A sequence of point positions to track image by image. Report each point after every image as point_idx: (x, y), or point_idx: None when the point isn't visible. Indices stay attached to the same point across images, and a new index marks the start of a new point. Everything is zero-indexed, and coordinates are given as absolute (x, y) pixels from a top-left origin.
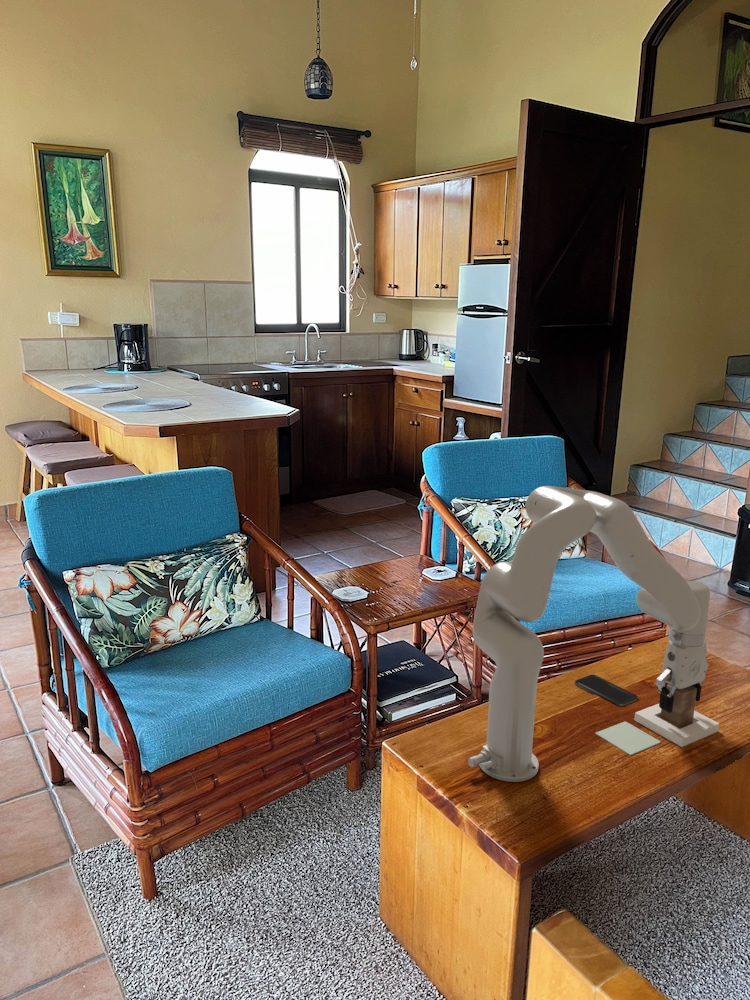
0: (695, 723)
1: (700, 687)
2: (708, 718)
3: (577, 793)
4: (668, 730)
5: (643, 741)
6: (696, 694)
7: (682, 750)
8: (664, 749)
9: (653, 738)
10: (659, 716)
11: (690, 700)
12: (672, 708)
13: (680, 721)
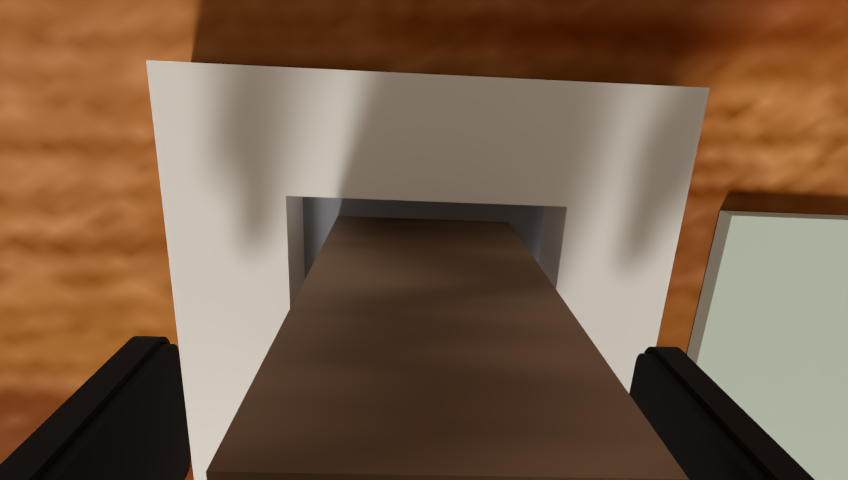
0: (361, 187)
1: (18, 474)
2: (171, 175)
3: None
4: (668, 243)
5: (824, 283)
6: (138, 411)
7: (676, 67)
8: (765, 153)
9: (730, 271)
10: None
11: (394, 350)
12: (675, 369)
13: (518, 254)
